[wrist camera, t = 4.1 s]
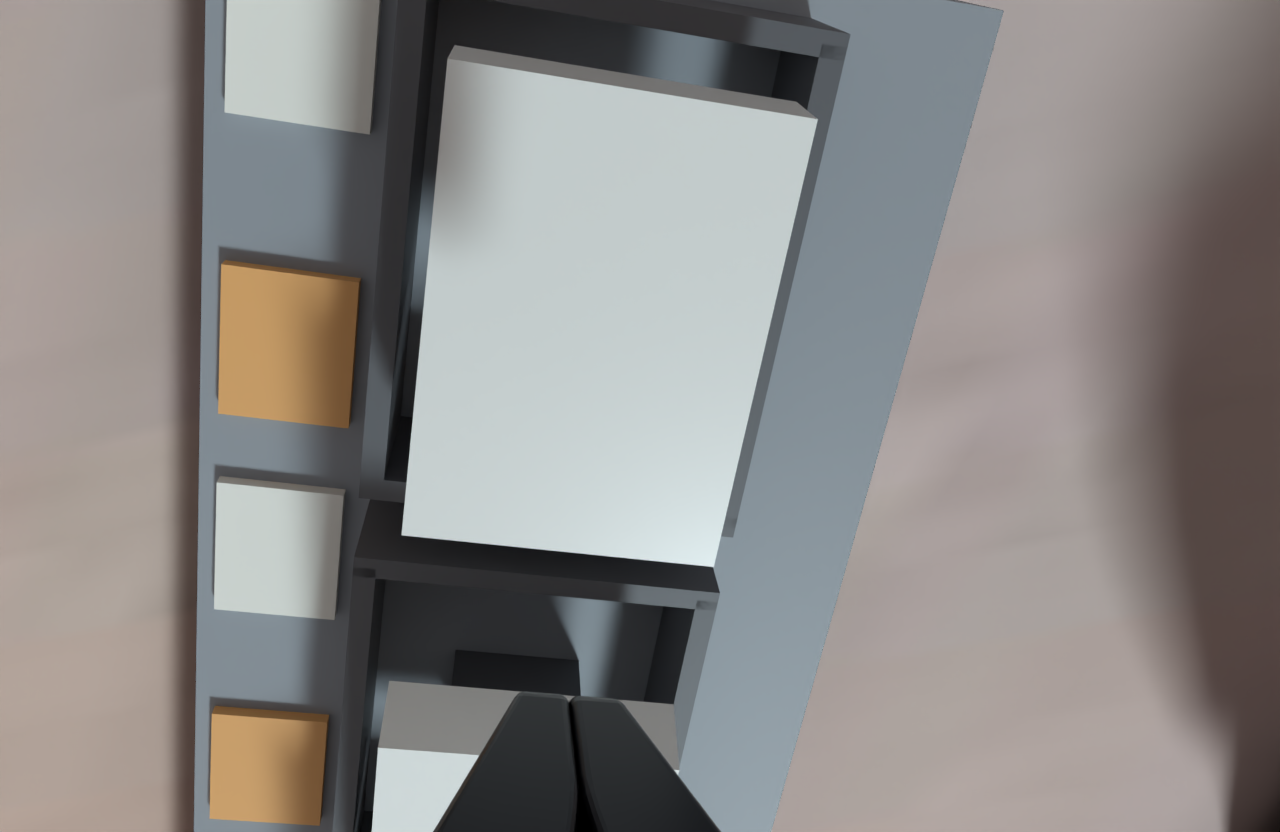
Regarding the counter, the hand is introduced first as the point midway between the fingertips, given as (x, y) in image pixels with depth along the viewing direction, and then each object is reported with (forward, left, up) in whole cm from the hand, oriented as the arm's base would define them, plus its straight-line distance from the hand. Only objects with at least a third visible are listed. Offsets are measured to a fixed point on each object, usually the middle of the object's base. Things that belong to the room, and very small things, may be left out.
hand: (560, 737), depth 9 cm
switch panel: (0, +5, -10) cm, 11 cm away
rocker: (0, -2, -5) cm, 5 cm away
